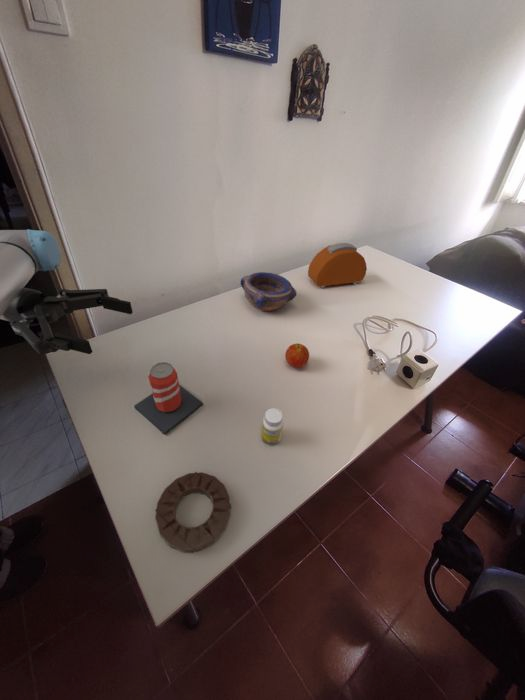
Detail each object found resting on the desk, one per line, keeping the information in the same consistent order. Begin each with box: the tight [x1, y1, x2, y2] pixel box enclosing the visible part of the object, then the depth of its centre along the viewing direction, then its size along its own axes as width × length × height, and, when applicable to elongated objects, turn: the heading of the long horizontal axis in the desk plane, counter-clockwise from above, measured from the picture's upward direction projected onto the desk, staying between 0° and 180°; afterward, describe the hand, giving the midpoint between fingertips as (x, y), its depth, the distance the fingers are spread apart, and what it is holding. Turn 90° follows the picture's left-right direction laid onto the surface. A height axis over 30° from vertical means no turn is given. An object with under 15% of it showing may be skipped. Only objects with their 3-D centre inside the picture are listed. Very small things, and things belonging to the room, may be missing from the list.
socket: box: [154, 471, 232, 554], centre depth 59 cm, size 14×14×2 cm
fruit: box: [284, 342, 310, 368], centre depth 91 cm, size 7×7×8 cm
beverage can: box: [147, 361, 182, 412], centre depth 74 cm, size 6×6×12 cm
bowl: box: [240, 271, 297, 312], centre depth 115 cm, size 18×18×10 cm
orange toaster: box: [307, 242, 368, 289], centre depth 130 cm, size 23×9×17 cm, turn 108°
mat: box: [133, 384, 204, 436], centre depth 79 cm, size 12×12×1 cm
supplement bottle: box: [260, 407, 284, 446], centre depth 71 cm, size 5×5×8 cm
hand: (111, 326), depth 61 cm, fingers open, 13 cm apart
